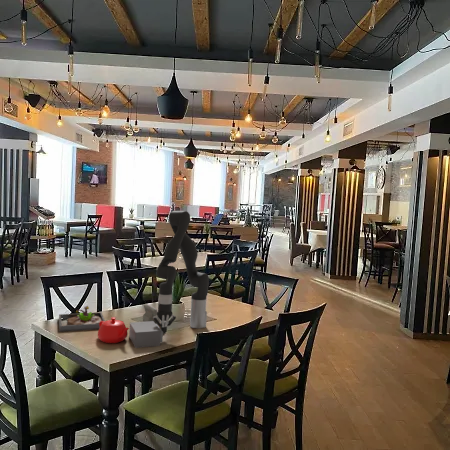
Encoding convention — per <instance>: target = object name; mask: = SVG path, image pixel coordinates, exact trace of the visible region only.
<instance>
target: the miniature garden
mask: <svg viewBox="0 0 450 450" xmlns="http://www.w3.org/2000/svg"><path fill="white" fill-rule="evenodd" d="M83 308H84V309H83V310H82V309H76V311H75V313H80V315H77V317H72V318H69V319H66V323H67V324H66V325H82V324H99V322H100V321H102V319H101V318H100V317H99V316H94V314H93V315H91V314H92V313H93V312H91V311H90V312H88V310H89V309H90V307H89V306H88V305H87V306H84V307H83ZM84 310H85V311H84Z"/></svg>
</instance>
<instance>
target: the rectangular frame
mask: <svg viewBox="0 0 450 450" xmlns="http://www.w3.org/2000/svg"><path fill="white" fill-rule="evenodd" d="M93 314H94V316H99V317H100V318H101V319H102V321H106V320H105V317H104V315H103V313H102V311H101V312H92V314H91V315H93ZM77 315H80V312H77V313H66V314H65V313H63V314H62V313H61V314H58V326H59V332H74V331H75V332H76V331H88V330H89V331H90V330H91V331H92V330H99V328H100V326H99V324H82V325H67V324H66V325H62V320H67V319H69V318H72V317H77ZM61 318H63V319H61Z"/></svg>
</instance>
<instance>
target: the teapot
mask: <svg viewBox="0 0 450 450" xmlns="http://www.w3.org/2000/svg"><path fill="white" fill-rule="evenodd" d="M99 326H100V328H99V329H98V330H97V337H98V339H99V340H100V341H101V342H103V343H106V344H116V343H117V344H119V343H121V342H122V341H123V342H124V340H126V339H127V337H128V335H129V333H128V330H130V327H127V326H126V324H125V322H124V321H122V320H119V319H117V317H115V316H111V317H110V319H108V320H105V321H100V322H99Z"/></svg>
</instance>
